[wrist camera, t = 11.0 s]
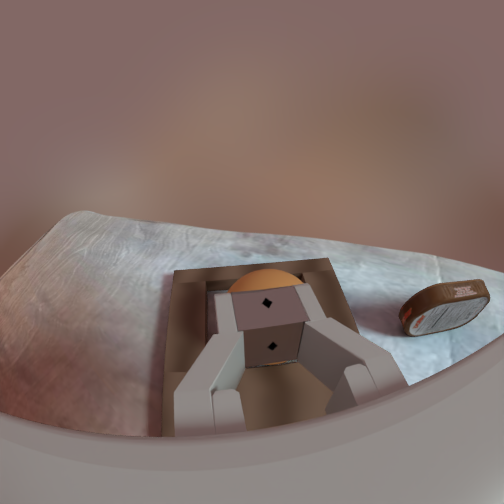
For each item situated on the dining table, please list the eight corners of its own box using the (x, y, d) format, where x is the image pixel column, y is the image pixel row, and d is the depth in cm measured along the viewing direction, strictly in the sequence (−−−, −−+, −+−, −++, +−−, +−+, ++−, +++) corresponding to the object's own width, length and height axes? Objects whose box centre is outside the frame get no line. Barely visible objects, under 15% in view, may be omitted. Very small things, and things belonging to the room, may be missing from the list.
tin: (465, 312, 32) (491, 273, 27) (473, 328, 30) (502, 289, 24) (388, 325, 32) (413, 281, 27) (395, 345, 30) (423, 303, 24)
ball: (201, 274, 24) (235, 264, 34) (208, 375, 25) (238, 341, 34) (316, 275, 22) (318, 264, 31) (313, 385, 22) (317, 345, 32)
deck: (169, 502, 16) (163, 503, 15) (177, 280, 39) (174, 270, 38) (393, 469, 18) (401, 467, 17) (326, 267, 41) (328, 257, 39)
